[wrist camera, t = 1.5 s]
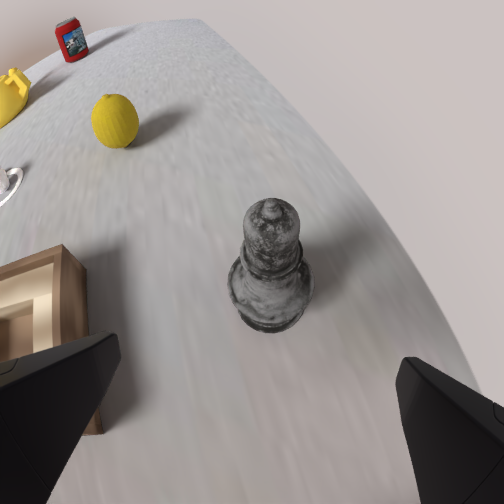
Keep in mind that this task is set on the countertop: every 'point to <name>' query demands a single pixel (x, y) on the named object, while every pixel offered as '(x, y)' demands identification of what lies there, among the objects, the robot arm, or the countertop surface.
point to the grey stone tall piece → (271, 269)
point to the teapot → (12, 95)
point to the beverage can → (71, 40)
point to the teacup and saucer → (2, 182)
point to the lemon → (115, 121)
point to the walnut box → (43, 307)
